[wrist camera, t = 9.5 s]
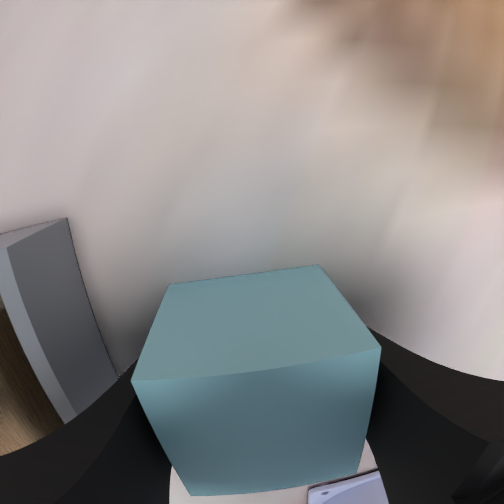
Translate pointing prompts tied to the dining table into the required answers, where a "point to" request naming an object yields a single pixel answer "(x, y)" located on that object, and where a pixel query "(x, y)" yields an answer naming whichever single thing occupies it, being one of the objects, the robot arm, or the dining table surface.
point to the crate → (54, 316)
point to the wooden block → (21, 394)
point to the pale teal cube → (258, 381)
